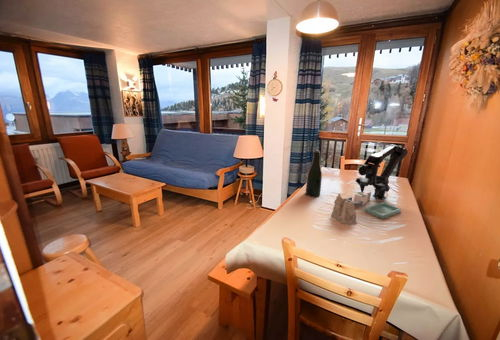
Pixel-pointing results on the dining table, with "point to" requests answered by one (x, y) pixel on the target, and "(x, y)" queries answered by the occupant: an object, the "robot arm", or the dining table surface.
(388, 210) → the tray
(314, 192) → the beer bottle
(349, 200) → the bay
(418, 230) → the dining table surface
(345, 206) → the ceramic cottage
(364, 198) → the teal striped block
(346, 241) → the dining table surface
